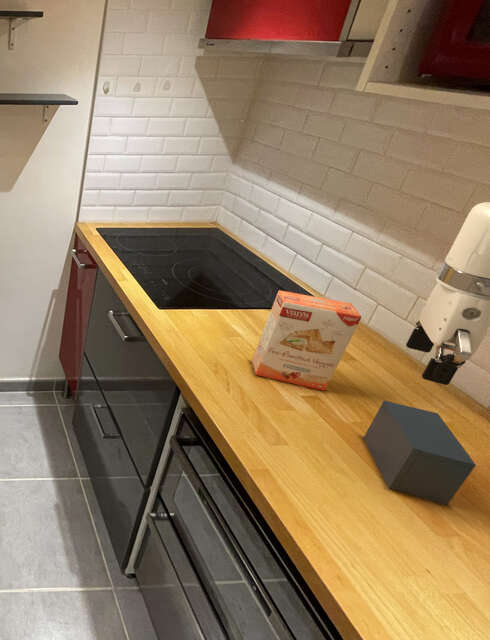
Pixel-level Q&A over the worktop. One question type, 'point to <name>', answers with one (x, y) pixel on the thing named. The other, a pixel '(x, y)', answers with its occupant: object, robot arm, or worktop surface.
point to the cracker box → (304, 339)
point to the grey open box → (417, 452)
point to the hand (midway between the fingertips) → (425, 364)
